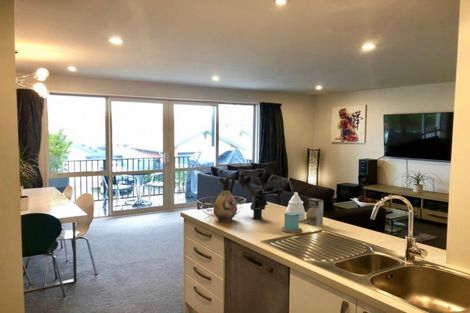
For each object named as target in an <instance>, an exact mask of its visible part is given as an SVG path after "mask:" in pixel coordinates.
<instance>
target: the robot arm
mask: <svg viewBox="0 0 470 313" xmlns="http://www.w3.org/2000/svg"><path fill="white" fill-rule="evenodd" d="M274 174H275V172H274V170H273V169H272V168H270V167H269V166H265V168H256V169H245V170H243V171H242V173H241V174H240V175H239V176H238V178H237V184H238V185H239V186H240V187H242V188H243V189H244V190H245V191H246V192H247V194H248V196H249V198H250V199H251V200H252V201H251V205H250V206H249V207H250V210H252V212H253V214H252V215H253V217H251V219H252V220H263V218H264V217H263V216H262V215H263V214H262V212H263V210H265V209H266V206H267V205H268V201H267V199H266V197H265V196H270V195H274V198H275V200H276V201H277V204H278V205H280V204H281V196H282V195H283V193H284V190H283V188H276V187H278V185H279V184H278V181H277V180H274V181H270V179H271V178H272V177H273V175H274ZM252 177H254V178H258V181H257V184H260V189H257V190H255V189H254V188H253V186H252V184H251V180H252ZM275 188H276V189H275Z"/></svg>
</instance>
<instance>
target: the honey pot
mask: <svg viewBox="0 0 470 313" xmlns="http://www.w3.org/2000/svg"><path fill="white" fill-rule="evenodd" d="M293 194H294V195H292V197H291V198H290V200H289V201H288V205H287V208H286V210H285V213H296V214H299V222H300V221H301V222H302V221H304V220H305V221H306V211H305V207H304V205H303V204H304V201H302V199H301V198H300V196H299V193H298V192H294V193H293Z"/></svg>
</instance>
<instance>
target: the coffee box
mask: <svg viewBox="0 0 470 313" xmlns="http://www.w3.org/2000/svg"><path fill="white" fill-rule="evenodd" d="M323 220H324V200H323V199H319V198H315V197H310V198H306V211H305V223H306V224H307V225H310V226H311V225H312V226H316V227H319V226H322V225H323V224H324V223H323V222H324V221H323Z"/></svg>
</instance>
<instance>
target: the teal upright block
mask: <svg viewBox="0 0 470 313" xmlns="http://www.w3.org/2000/svg"><path fill="white" fill-rule="evenodd" d="M283 224H284V226H283V227H284V228H285V229H287V230H290V231H292V230H298V229H299V228H300V226H299V225H300V221H299V214H296V213H286V212H285V213H284V222H283Z"/></svg>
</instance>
